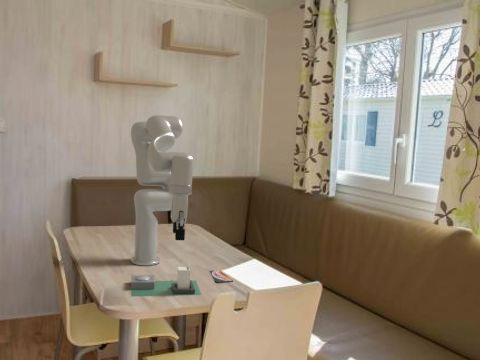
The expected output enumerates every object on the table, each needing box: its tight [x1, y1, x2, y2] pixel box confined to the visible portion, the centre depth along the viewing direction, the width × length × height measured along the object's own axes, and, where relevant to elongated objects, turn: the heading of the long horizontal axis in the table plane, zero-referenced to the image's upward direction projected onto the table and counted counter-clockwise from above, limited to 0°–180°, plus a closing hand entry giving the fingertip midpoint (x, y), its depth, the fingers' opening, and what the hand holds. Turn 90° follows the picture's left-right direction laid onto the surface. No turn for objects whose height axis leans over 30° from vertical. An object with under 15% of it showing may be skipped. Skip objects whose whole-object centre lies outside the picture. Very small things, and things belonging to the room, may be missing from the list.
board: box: [130, 274, 202, 297], centre depth 180 cm, size 16×24×4 cm, turn 102°
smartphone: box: [209, 270, 234, 284], centre depth 200 cm, size 8×1×15 cm
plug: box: [176, 266, 191, 289], centre depth 178 cm, size 4×4×8 cm
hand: (178, 236), depth 179 cm, fingers open, 9 cm apart
